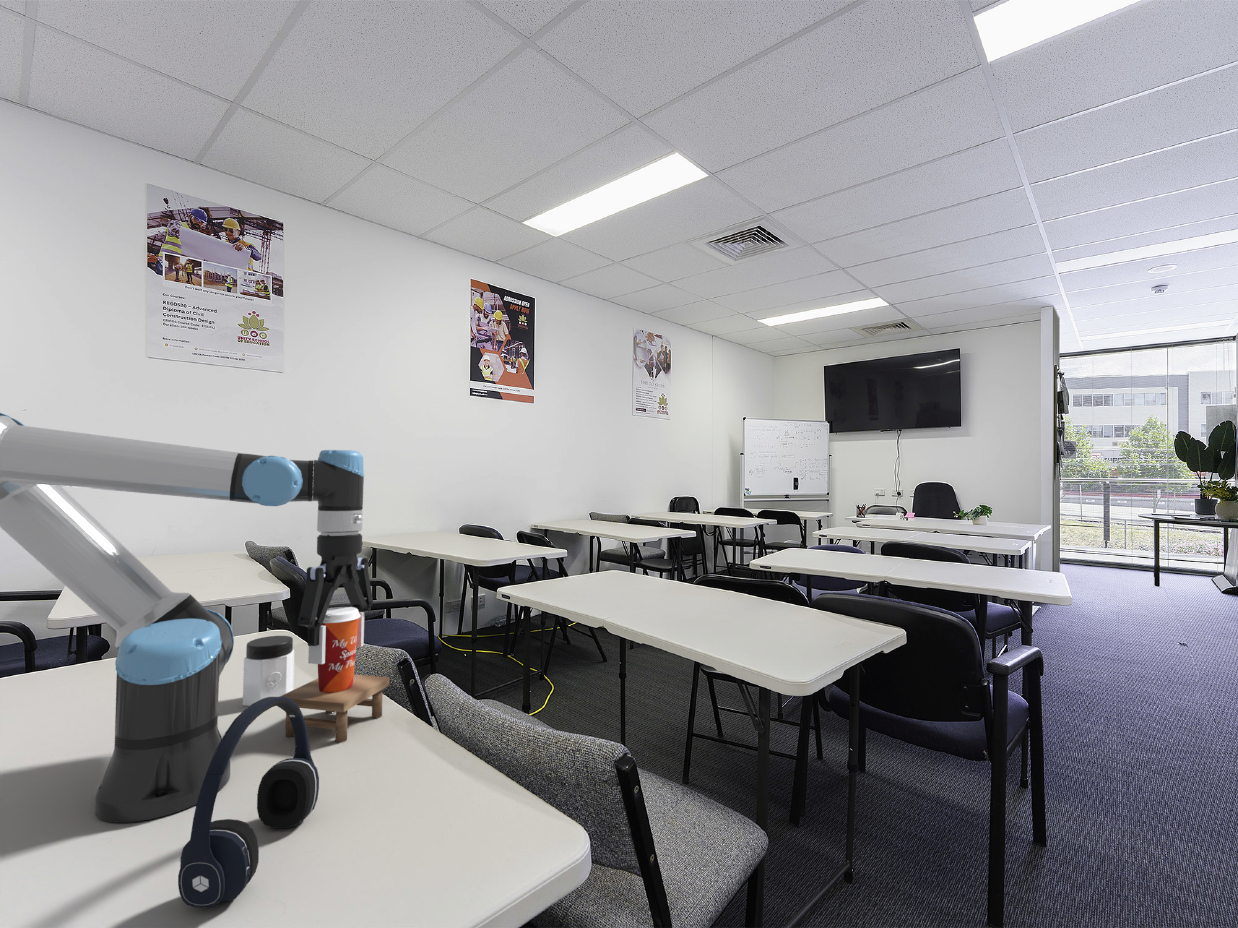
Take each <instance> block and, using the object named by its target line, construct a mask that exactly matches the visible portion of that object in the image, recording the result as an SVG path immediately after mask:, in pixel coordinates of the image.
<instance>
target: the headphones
mask: <svg viewBox="0 0 1238 928" xmlns="http://www.w3.org/2000/svg"><path fill="white" fill-rule="evenodd" d="M274 707H278V708H279V709H281V710H282V711H284V712H285V715H286V714H287V715H288V716H289V719H290V721H291V724H292V727H293V732H294V736H293V737H294V753H293V754H294V755H293V756H292V758H291V757H290V758H285V759H283V760H282V759H281V760H280V761H278V762H276V763H275V764H273V765H272V766H271V767H270V768H269V769H268V770H267V771H266V772H265V773H264V775H262V776H261V780H260V782H259V785H258V789H257V796H256V798H257V799H256V811H257V815H258V819H259V820H260V822H261V823H262V824H263V825H264V826H267V827H269V828H271V829H272V828H274V829H288V828H292V827H294V826H298V825H299V824H300V823H302V822H303V821H304V820H305V819H306V818H307V817H308V816H309V815H310V814H311V813H312V812H313V811H314V810H315V807H316V804H317V801H318V799H319V798H318V796H319V790H320V778H319V777H320V776H319V772H318V768H317V767H316V766H315V764H314V760H313V757H312V755H311V749H310V741H309V733H308V726H306V723H305V720H304V715H303V712H302V710H301V708H299V706H298V705H297V704H296V703H295V702H294V701H293V700H291V699H290V698H287V697H267V698H263V699H261V700H259V701H257V702H255V703H253V704H252V705H250V706H247V707H246V708H245V709H243V711H241V713H240V714H238V715H237V716H236V717H235V718H234V720H233V721H232V722H231V724H230V725H229V727H228V728H227V729H226V731H225V733H224V735H223V736H222V737H221V738H222V740H221V742H220V743H219V745H218V747H217V749H216V751H215V753H214V755H213V757H212V760H211V762H210V765H209V767H208V770H207V772H206V775H205V778H204V781H203V784H202V787H201V790H200V793H199V797H198V800H197V804H196V805H195V809H194V813H193V818H192V819H193V820H192V825H191V826H192V827H191V831H190V832H191V833H190V838H189V840H188V841H187V842H186V844H184V846H183V847H182V851H181V853H180V858H179V861H180V865H179V867H180V868H179V871H178V874H177V875H178V876H177V879H178V880H177V885H178V892H179V895H180V898H181V900H182V901H183V902H184V903H185V904H186V905H187V906H189V907H191V908H197V909H199V908H200V909H203V908H211V907H214V906H217V905H219V903H226V902H230V901H233V900H235V899H237V897H239V896H240V894H241V893H242V892H243V891H244V890H245V888H246V887H247V886H248V884H249V883H250V882H251V880H252V878H253V877H254V876H255V873H256V872H257V869H258V865H259V862H260V861H259V858H260V857H259V856H260V855H259V854H260V851H259V850H260V849H259V843H258V837H257V835H256V832H255V830H254V828H253V827H252V826H251V825H250V824H249V823H248V822H245V821H243V820H240V819H231V818H227V819H226V818H225V819H218V820H213V821H212V818H213V812H214V807H215V804H216V803H215V802H216V800H217V796H218V792H219V791H218V789H219V786H220V783H221V780H222V777H223V774H224V772H225V769H226V767H227V765H228V762H229V760H230V761H231V757H232V755H233V754H234V752H235V750H236V747H237V745H238V744H239V742H240V741H241V738H242V737H243V735H244V733H245V732H246V730H247V729H248V728H249V726H250V725H251V724H252V723H253V722H255V720H256V719H257V718H258V717H260V716H261V715H262V714H263V713H265V712H267V711H268V710H270V709H271V708H274Z"/></svg>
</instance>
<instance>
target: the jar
mask: <svg viewBox="0 0 1238 928" xmlns="http://www.w3.org/2000/svg"><path fill="white" fill-rule="evenodd" d="M293 644H294V639H293V637H292V636H289V635H272V636H271V635H269V636H264V637H257V638H255V639H253V640H250V641H248V642H247V643H246V647H245V649H246V651H245V652H246V654H245V655H246V656H245V657H244V658H243V676H242V677H243V679H242V680H243V681H242V682H243V683H242V705H243V706H244V707H249V706H250V705H252V704H253V703H255V702H257V701H259V700H261V699H263V698H267V697H280V696H282V695H284V694H286V693H288V692H290V691H292V690H294V686H295V685H294V683H295V682H294V679H295V678H294V677H295V675H294V674H295V649H294V645H293Z"/></svg>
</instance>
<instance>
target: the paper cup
mask: <svg viewBox="0 0 1238 928" xmlns="http://www.w3.org/2000/svg"><path fill="white" fill-rule="evenodd" d="M360 616H361V615H360V614H359V612H358V609H357V608H354V607H352V606H337V607H328V610H327V613H326V615H325V618H324V621H323V623H322V626H326V639H325V663H324V664H317V679H318V682H319V691H321V692H324V693H334V692H340V691H344V690H347V689H349V688H351V687H352V685H353V678H354V674H355V667H356V665H355V664H356V654H357V647H356V644H357V632H358V620H359V617H360ZM316 620H317V617H316Z"/></svg>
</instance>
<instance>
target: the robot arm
mask: <svg viewBox="0 0 1238 928" xmlns="http://www.w3.org/2000/svg"><path fill="white" fill-rule="evenodd" d="M364 471H365V470H364V456H363V454H362V453H360V452H359V451H357V450H347V449H346V450H345V449H323V450H320V451H319V454H318V457H317V459H314V460H310V459H309V460H304V459H303V460H298V459H297V460H296V459H288V458H286V457H283V456H278V455H277V456H276V455H267V456H266V455H262V454H253V453H252V454H251V453H243V452H242V453H241V452H238V451H237V452H235V451H229V450H220V449H212V448H205V447H204V448H203V447H195V446H189V445H180V444H171V443H165V442H156V441H148V440H140V439H139V440H138V439H133V438H124V437H115V436H108V435H101V434H91V433H85V432H84V433H83V432H77V431H76V432H75V431H69V430H67V431H66V430H59V429H53V428H52V429H51V428H44V427H35V426H29V425H28V426H27V425H25V424H24V423H22V422H20V420H17V419H15V418H13V417H11V416H10V415H8V414H4V413H2V412H0V528H1V530H3V531H4V532H5V533H6V534H8V536H9V537H11V538H12V540H14V541H15V542H16V543H17V544H18V545H19V546H21V547H22V549H24V550H25V551H27V553H28V554H29V555H31V556H32V557H33V558H34V559H35V560H36V561H37V562H39V564H41V565H42V566H43V567H44V568H45V569H46V570H48V571H49V572H50V574H52V575H53V576H54V577H55V578H57V580H58V581H60V583H62V584H63V585H64V586H65V587H66V588H67V589H69V590H70V591H71V592H72V593H73V594H74V595H76V596H77V598H79V599H80V600H81V601H82V602H83V603H84V604H85V605H87V606H88V607H89V608H90V609H91V610H92V611H93V612H94V613H96V615H98V616H99V617H100V618H101V619H102V620H103V621H105V623H106V624H108V625H109V626H110V627H111V628H113V630H114V631H116V637H115V638H116V639H115V643H114V647H115V648H116V649H117V650H118V652H117V656H116V658H115V662H114V663H115V671H116V681H115V682H116V683H115V684H116V686H115V687H116V689H115V715H114V716H115V717H114V718H115V719H114V749H113V752H112V754H111V757H110V760H109V762H108V765H107V767H106V769H105V773H104V776H103V778H102V781H101V783H100V785H99V787H98V788H97V791H96V793H95V798H94V799H95V804H94V814H95V815H96V817H97V818H98V819H99V820H101V821H105V822H108V823H116V824H117V823H118V824H119V823H123V824H125V823H134V822H135V823H136V822H141V821H142V822H143V821H149V820H153V819H154V820H155V819H157V818H158V819H159V818H162V817H165V816H169V815H172V814H175V813H178V812H181V811H183V810H185V809H189V808H192V807H194V806H196V804H197V800H198V797H199V793H200V790H201V787H202V784H203V781H204V778H205V775H206V772H207V770H208V767H209V765H210V762H211V760H212V757H213V755H214V753H215V751H216V749H217V747H218V745H219V743H220V742H221V740H222V738H223V737H222V736H221V733H220V730H219V726H218V723H219V721H218V720H219V719H218V718H219V717H218V716H219V715H218V714H219V687H220V676H221V674H222V672H223V670H224V668H225V667H226V664H227V663H228V662H229V660H230V659H231V657H232V654H233V651H234V645H235V637H234V631H233V629H232V628H233V627H232V625H231V624H230V622H229V621H228V620H227V619H226V618H225V616H223V615H222V614H220V613H219V612H216V611H214V610H212V609H208V608H206V607H205V606H204V605H202V604H201V603H200V602H199V601H198V600H197V599H196V598H195V597H194V596H193V595H192V594H191V593H189V592H174V591H172V590H171V589H170V588H168V586H166V584H164V583H163V582H162V580H160V578H158V577H157V576H156V575H155V574H154V573H153V572H152V571H151V570H149V568H148V567H146V566H145V565H144V564H143V563H142V562H141V561H140V560H139V559H138V558H137V557H136V556H135V555H134V554H133V553H132V552H131V551H130V550H129V549H127V548H126V546H125V545H123V544H122V543H121V542H120V541H119V540H118V539H117V538H116V537H115V536H114V535H113V533H112V532H109V530H108V529H107V528H105V527H104V526H103V525H102V524H101V523H100V522H99V521H98V520H97V519H96V518H94V516H93V515H92V514H91V513H90V512H89V511H87V510H86V509H85V508H84V507H83V506H82V505H81V504H80V503H79V502H78V501H77V500H76V499H75V498H74V497H73V496H72V495H71V494H70V493H68V492H67V491H66V489H64V488H63V487H69V488H80V489H91V490H92V489H93V490H104V491H114V492H125V493H126V492H127V493H138V494H150V495H161V496H174V497H181V498H182V497H184V498H194V499H195V498H196V499H205V500H208V499H209V500H219V501H228V502H229V501H230V502H237V503H246V504H247V503H248V504H259V505H260V506H265V507H279V506H283V505H286V504H288V503H290V502H291V503H292V502H295V503H296V502H317V518H316V519H317V521H316V522H317V523H316V525H317V526H316V531H317V532H318V533H320V534H319V535H318V536H316V554H317V555H318V556H320V557H321V561H320V563H319V565H318V566H308V567H307V569H306V582H305V586H304V587H305V588H304V593H303V597H302V601H301V606H300V609H299V615H298V619H297V625H298V626H301V627H306V628H307V646H308V658H307V659H308V664H314V665H318V664H324V663H325V639H326V626H322V623H323V621H324V618H325V615H326V613H327V610H328V608H330V607H329V606H330V604H331V601H332V600H333V599H332V598H333V596H334V594H335V592H336V591H337V590H338V589H339V587H340V585H342V586H343V588H344V591H345V593H346V596H347V598H348V601H349V604H350V607H354V608H357V609H358V612H359V614H360V615H361V616H360V617H359V620H358V632H357V644H356V648H357V647H358V648H361V647H364V639H365V624H366V617H365V616H366V612H370V611H371V609H372V608H371V607H372V606H373V604H374V599H373V598H374V597H373V592H372V587H371V586H372V585H371V580H370V575H369V558H368V557H358V556H357V555H359V554H361V553H362V552H363V535H362V533H359V532H361V531H362V530H363V509H364V508H363V505H364V503H363V502H364V483H365V482H364V480H365V475H364V474H365V473H364ZM316 617H317V620H316ZM230 778H231V759H230V760H229V762H228V765H227V767H226V769H225V772H224V774H223V777H222V780H221V783H220V786H219V789H218V792H220V791H221V790H222V789H223V788H224V787H225V786H226V785H227V784H228V782H229V780H230Z"/></svg>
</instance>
